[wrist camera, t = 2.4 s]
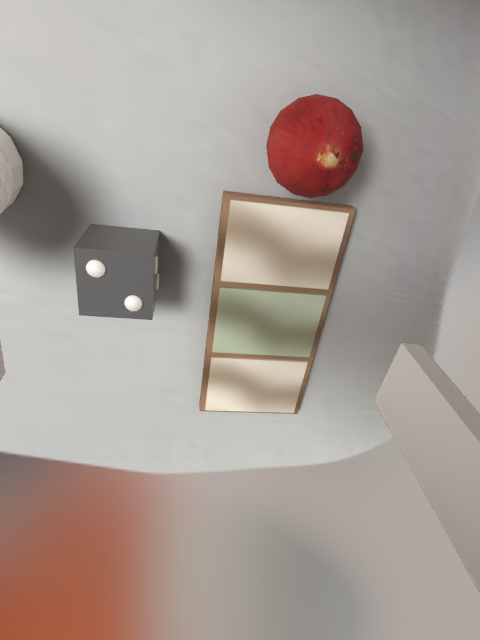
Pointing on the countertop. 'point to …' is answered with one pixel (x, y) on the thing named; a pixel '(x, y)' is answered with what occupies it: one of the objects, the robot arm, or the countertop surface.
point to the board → (269, 299)
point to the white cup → (9, 171)
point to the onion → (314, 146)
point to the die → (117, 272)
